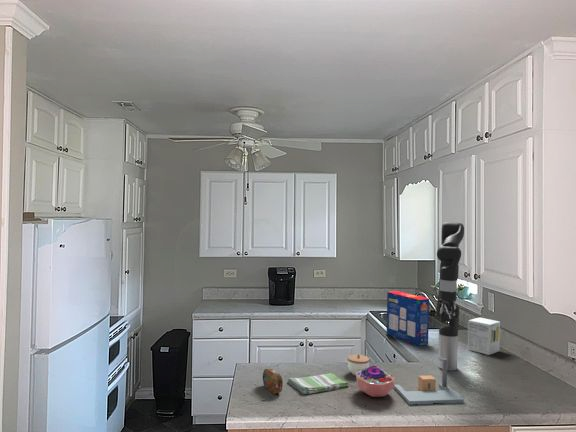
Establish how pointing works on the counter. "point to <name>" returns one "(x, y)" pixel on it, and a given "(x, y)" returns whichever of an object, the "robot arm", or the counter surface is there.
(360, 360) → the lidded jar
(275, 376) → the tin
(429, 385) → the tan wooden brick
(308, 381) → the dish towel
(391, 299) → the blue cardboard box
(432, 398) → the screw clamp
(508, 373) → the counter surface
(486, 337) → the supplement box
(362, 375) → the cell model
